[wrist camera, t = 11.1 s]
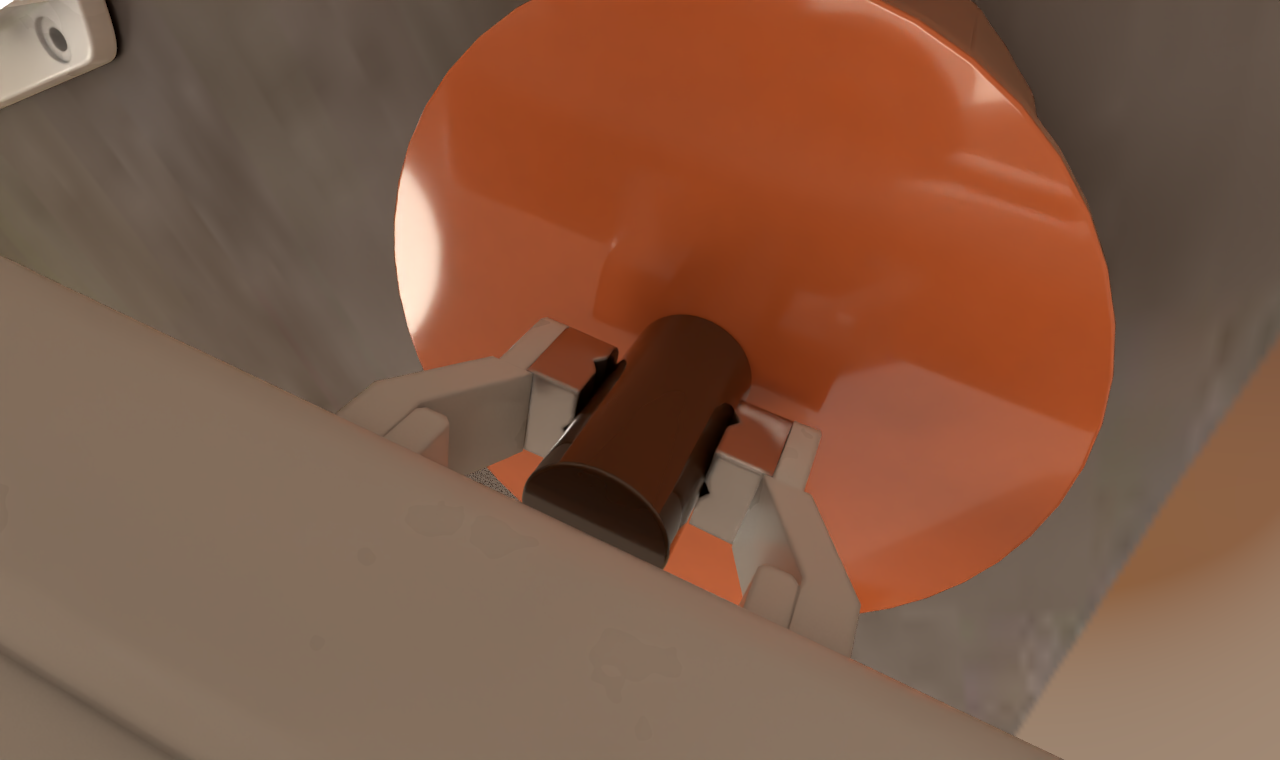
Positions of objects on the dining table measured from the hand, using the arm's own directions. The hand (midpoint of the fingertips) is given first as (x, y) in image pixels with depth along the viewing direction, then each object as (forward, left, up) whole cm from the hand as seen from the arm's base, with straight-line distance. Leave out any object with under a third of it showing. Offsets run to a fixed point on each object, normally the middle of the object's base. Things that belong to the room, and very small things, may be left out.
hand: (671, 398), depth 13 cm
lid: (0, 0, -2) cm, 2 cm away
